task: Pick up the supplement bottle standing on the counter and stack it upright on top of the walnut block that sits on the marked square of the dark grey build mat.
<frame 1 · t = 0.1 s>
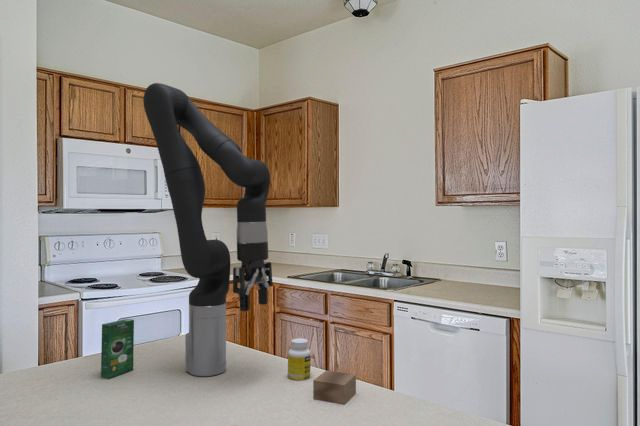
hand: (254, 307, 119), 17 cm above the countertop, tool pointing down, fingers open, 8 cm apart
coffee box: (117, 374, 122), on the countertop
walnut block: (334, 396, 105), point 1 cm above the countertop, touching build mat
supplement bottle: (299, 382, 118), on the countertop
build mat: (329, 396, 108), on the countertop
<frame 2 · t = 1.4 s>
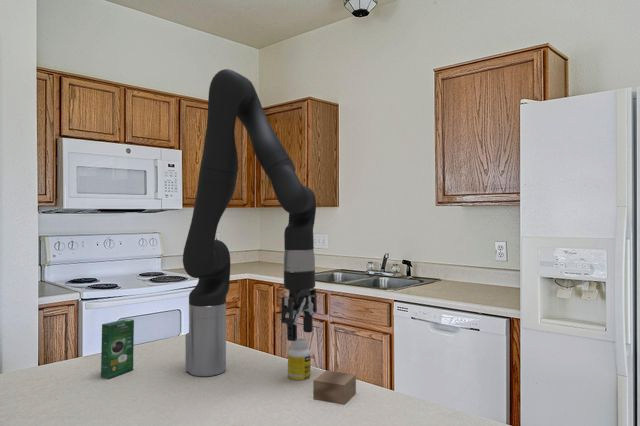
hand: (300, 336, 117), 11 cm above the countertop, tool pointing down, fingers open, 8 cm apart
nothing on the countertop moved.
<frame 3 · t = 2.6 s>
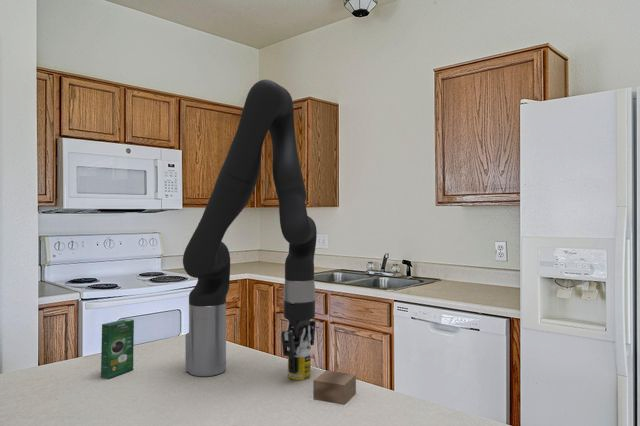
hand: (299, 368, 118), 3 cm above the countertop, tool pointing down, fingers closed on supplement bottle, 5 cm apart
supplement bottle: (299, 381, 118), on the countertop, touching gripper
everything else where it was.
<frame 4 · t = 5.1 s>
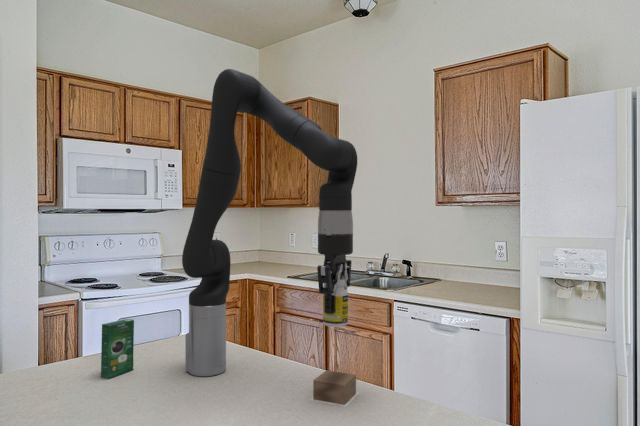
hand: (335, 310, 105), 20 cm above the countertop, tool pointing down, fingers closed on supplement bottle, 5 cm apart
supplement bottle: (335, 325, 105), point 16 cm above the countertop, touching gripper
everything else where it was.
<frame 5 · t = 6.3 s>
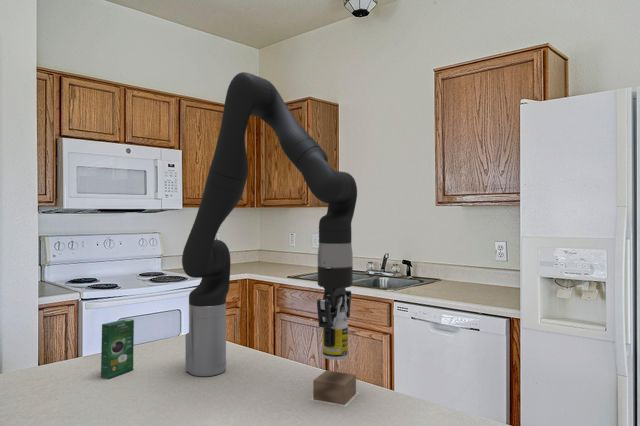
hand: (334, 342, 105), 13 cm above the countertop, tool pointing down, fingers closed on supplement bottle, 5 cm apart
supplement bottle: (335, 357, 105), point 9 cm above the countertop, touching gripper
everything else where it was.
when the fingers open (9 cm above the countertop, at t = 7.5 s): supplement bottle stays where it is, resting on walnut block.
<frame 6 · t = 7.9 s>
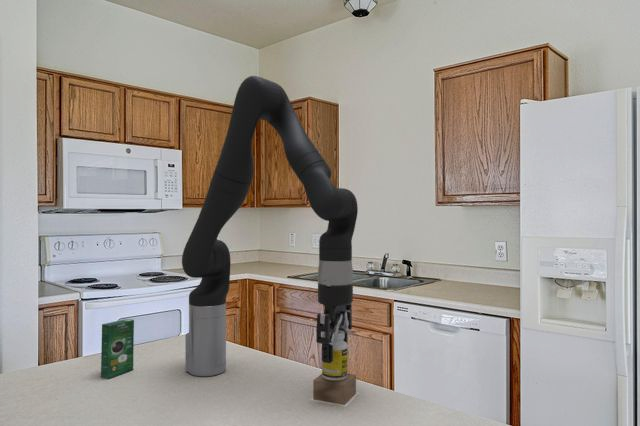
hand: (335, 356, 105), 10 cm above the countertop, tool pointing down, fingers open, 8 cm apart
walnut block: (334, 396, 105), point 1 cm above the countertop, touching supplement bottle, build mat
supplement bottle: (334, 378, 105), point 5 cm above the countertop, touching walnut block
everything else where it was.
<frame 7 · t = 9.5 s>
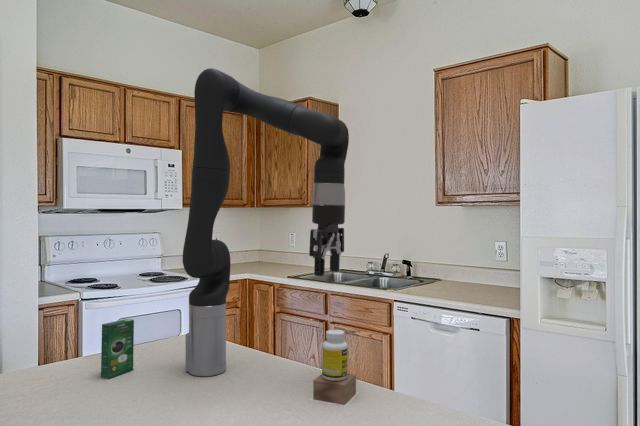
hand: (327, 273, 114), 26 cm above the countertop, tool pointing down, fingers open, 8 cm apart
nothing on the countertop moved.
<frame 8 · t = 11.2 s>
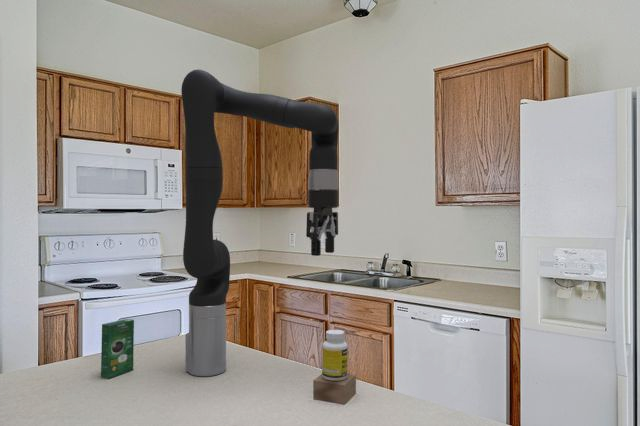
hand: (322, 254, 121), 30 cm above the countertop, tool pointing down, fingers open, 8 cm apart
nothing on the countertop moved.
at the end: supplement bottle 0.1 cm from the walnut block (horizontally); supplement bottle point 4.9 cm above the countertop; supplement bottle tilted 0° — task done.
